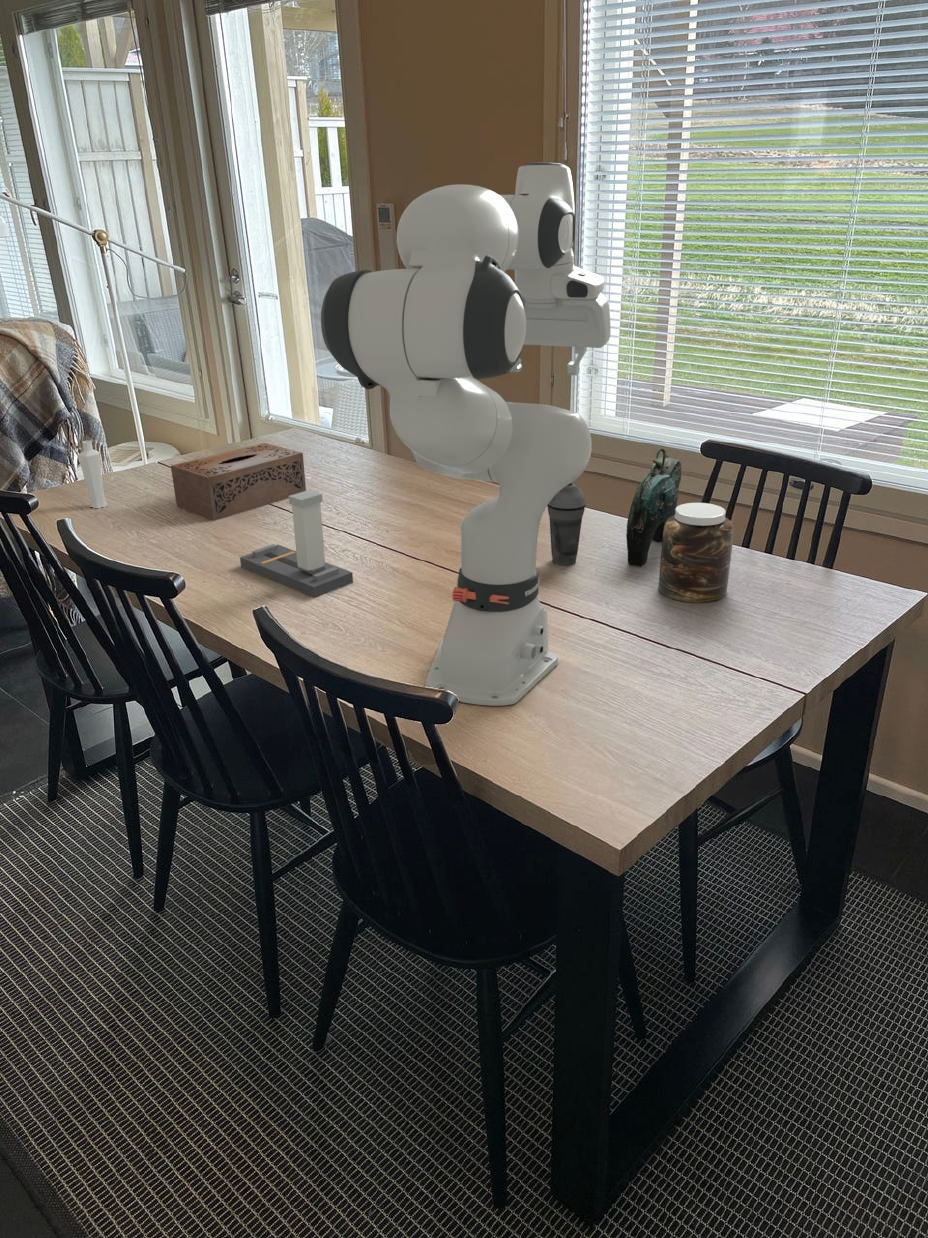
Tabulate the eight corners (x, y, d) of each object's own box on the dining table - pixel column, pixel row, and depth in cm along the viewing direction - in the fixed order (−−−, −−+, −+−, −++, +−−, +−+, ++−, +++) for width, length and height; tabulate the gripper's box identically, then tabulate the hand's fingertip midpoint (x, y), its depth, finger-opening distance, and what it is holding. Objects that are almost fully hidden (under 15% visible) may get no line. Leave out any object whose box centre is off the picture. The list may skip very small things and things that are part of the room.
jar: (675, 572, 173) (682, 495, 166) (736, 586, 167) (746, 506, 160) (647, 593, 164) (654, 513, 158) (710, 609, 158) (720, 526, 152)
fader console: (353, 582, 170) (351, 567, 169) (314, 597, 164) (313, 581, 163) (278, 553, 184) (277, 539, 182) (241, 566, 178) (239, 552, 176)
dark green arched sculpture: (653, 533, 192) (661, 437, 184) (683, 538, 189) (693, 441, 181) (617, 564, 177) (624, 462, 168) (650, 570, 174) (658, 466, 165)
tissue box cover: (213, 522, 202) (208, 477, 198) (177, 508, 211) (170, 465, 207) (306, 494, 220) (302, 452, 215) (268, 482, 228) (264, 442, 224)
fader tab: (328, 568, 170) (322, 494, 164) (309, 576, 167) (302, 500, 161) (314, 563, 173) (308, 489, 167) (295, 570, 170) (287, 495, 164)
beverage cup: (581, 570, 174) (586, 466, 166) (542, 567, 176) (545, 464, 167) (584, 555, 181) (589, 455, 172) (547, 553, 182) (550, 453, 174)
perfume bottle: (114, 504, 213) (102, 440, 206) (98, 510, 210) (86, 444, 203) (101, 501, 215) (89, 437, 209) (85, 506, 212) (72, 442, 205)
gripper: (471, 283, 140) (475, 374, 147) (605, 287, 134) (602, 382, 141) (485, 275, 145) (488, 363, 152) (614, 278, 139) (611, 370, 146)
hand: (544, 372), depth 147 cm, fingers open, 8 cm apart
